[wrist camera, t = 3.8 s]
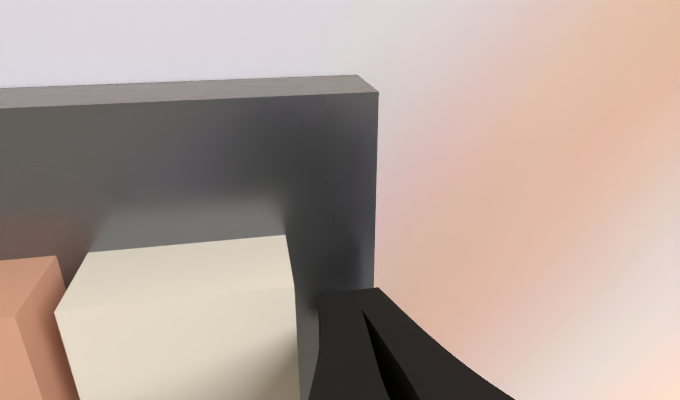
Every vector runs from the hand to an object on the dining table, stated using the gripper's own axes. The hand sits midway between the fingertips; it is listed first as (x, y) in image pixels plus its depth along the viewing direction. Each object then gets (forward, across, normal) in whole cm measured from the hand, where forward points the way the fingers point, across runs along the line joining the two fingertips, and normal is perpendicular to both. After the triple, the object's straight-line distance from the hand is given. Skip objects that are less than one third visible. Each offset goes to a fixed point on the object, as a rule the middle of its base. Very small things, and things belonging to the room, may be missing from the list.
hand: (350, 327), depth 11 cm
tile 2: (+1, +3, 0) cm, 3 cm away
